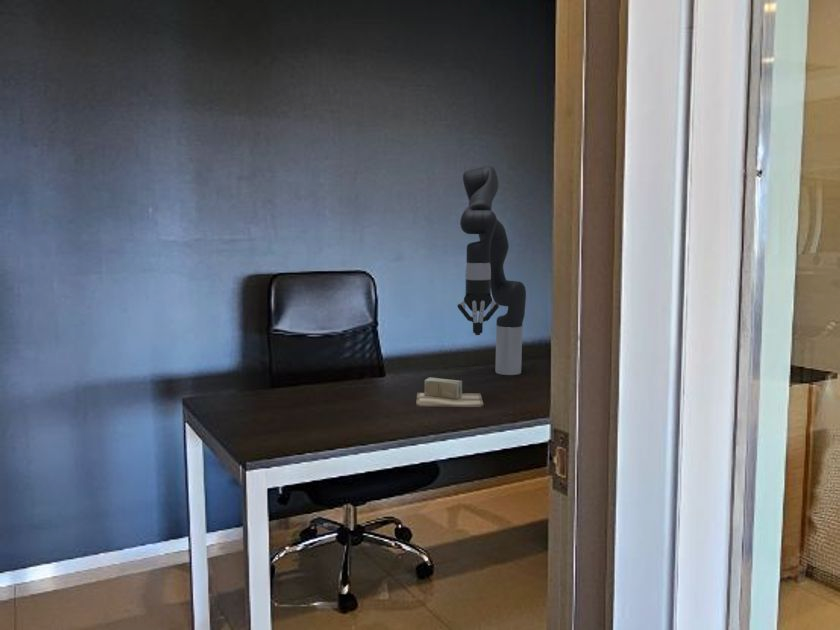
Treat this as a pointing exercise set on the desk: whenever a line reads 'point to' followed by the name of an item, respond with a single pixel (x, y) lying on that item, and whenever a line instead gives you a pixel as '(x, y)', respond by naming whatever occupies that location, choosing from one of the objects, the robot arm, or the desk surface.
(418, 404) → the mat
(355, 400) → the desk surface
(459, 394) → the box
